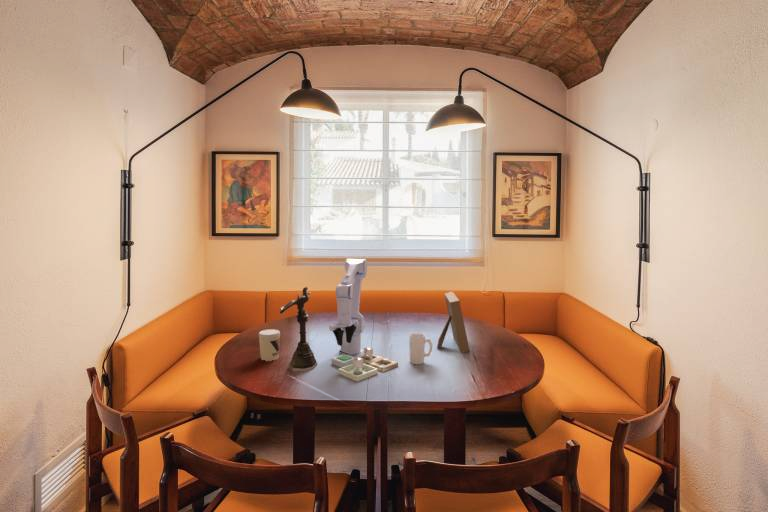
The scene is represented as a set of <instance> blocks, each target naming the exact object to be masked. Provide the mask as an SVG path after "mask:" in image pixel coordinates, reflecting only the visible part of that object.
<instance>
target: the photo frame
mask: <svg viewBox="0 0 768 512" xmlns="http://www.w3.org/2000/svg"><path fill="white" fill-rule="evenodd" d="M444 298H445V303H446V308H447V312H448V319H447V321H446V323H445V326H444V327H443V329H442V331H441V334H440V336H439V338H438V341H437V346H436V348H437V349H440V348H441V347H443V344H444V341H445V339H446V335H447V332H448V329H449V326H450V327H451V331H452V336H453V339H454V341H455V344H456V345H457V348H458V350H459V353H461V354H462V353H466V352H470V345H469V342H468V341H469V340H468V337H467V331H466V326H465V322H464V316H463V312H462V307H461V303H460V299H459V298H458V297H457V295H456V294H455V293H454V291H449V292H444Z"/></svg>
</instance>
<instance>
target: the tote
mask: <svg viewBox="0 0 768 512" xmlns="http://www.w3.org/2000/svg"><path fill="white" fill-rule="evenodd" d="M378 373H379V370H378V369H377V368H374V367H372V366H369V365H366V364H364V363H363V374H361V375H354V374H353V364H351V365H348V366H345V367H342V368H341V367H339V368H338V375H342V376H343V377H346V378H348V379H350V380H353V381H355V382H360V381H362V380H364V379H367V378H369V377H373V376H374V375H377V374H378Z"/></svg>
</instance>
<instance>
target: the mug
mask: <svg viewBox="0 0 768 512" xmlns="http://www.w3.org/2000/svg"><path fill="white" fill-rule="evenodd" d="M426 343H428V344H429V350H428V351H427V352H425V347H426V345H425V344H426ZM432 350H433V343H432V340H431V338H428V337H427V338H426V335H425V334H424V333H420V332H419V333H417V332H414V333H410V334H409V363H410V364H413V365H422V364H424V362H425V357H430V355H431V353H432Z"/></svg>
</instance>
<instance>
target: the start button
mask: <svg viewBox="0 0 768 512" xmlns="http://www.w3.org/2000/svg"><path fill="white" fill-rule="evenodd" d="M349 356H350V355H349ZM349 356H341V357H339V360H341V361H346V360H349Z"/></svg>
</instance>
